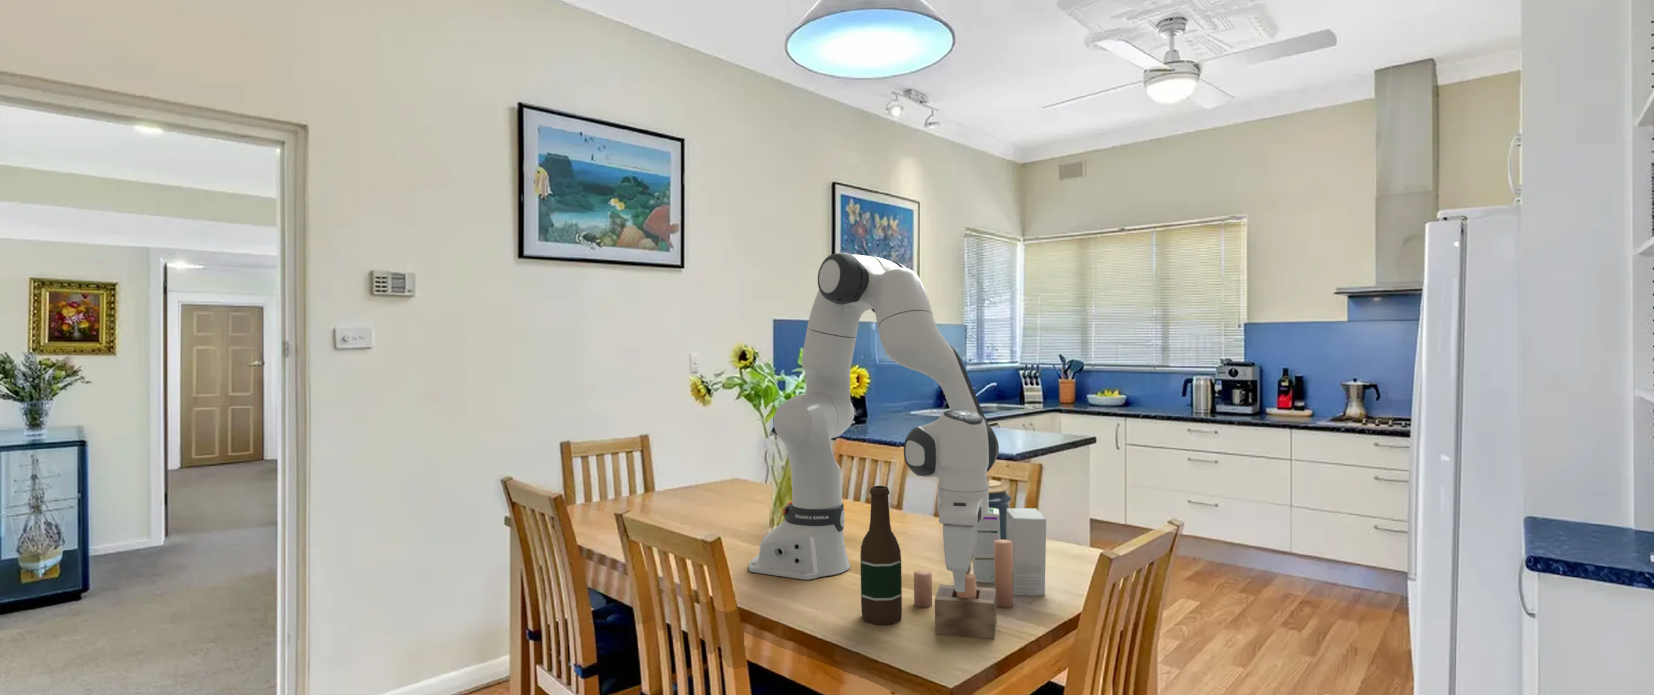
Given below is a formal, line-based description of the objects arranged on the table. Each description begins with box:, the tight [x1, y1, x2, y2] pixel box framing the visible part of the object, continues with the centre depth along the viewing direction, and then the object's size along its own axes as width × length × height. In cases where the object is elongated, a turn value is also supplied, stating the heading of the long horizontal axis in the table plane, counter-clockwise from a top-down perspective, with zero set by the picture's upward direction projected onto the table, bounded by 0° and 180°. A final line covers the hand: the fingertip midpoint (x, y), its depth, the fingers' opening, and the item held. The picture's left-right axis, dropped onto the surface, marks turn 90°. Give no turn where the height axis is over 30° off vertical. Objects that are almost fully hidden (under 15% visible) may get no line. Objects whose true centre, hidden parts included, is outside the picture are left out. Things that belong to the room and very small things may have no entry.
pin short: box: [913, 569, 933, 608], centre depth 146 cm, size 3×3×6 cm
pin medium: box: [957, 573, 977, 599], centre depth 134 cm, size 3×3×9 cm
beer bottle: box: [859, 485, 903, 626], centre depth 139 cm, size 8×8×24 cm
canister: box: [986, 473, 1012, 540], centre depth 186 cm, size 13×13×18 cm
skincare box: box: [1006, 507, 1047, 597], centre depth 153 cm, size 8×7×16 cm
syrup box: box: [972, 508, 1001, 584], centre depth 160 cm, size 6×6×14 cm
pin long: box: [994, 540, 1014, 609], centre depth 145 cm, size 3×3×12 cm
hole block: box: [934, 584, 997, 640], centre depth 134 cm, size 10×8×6 cm
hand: (962, 581), depth 134 cm, fingers open, 8 cm apart
